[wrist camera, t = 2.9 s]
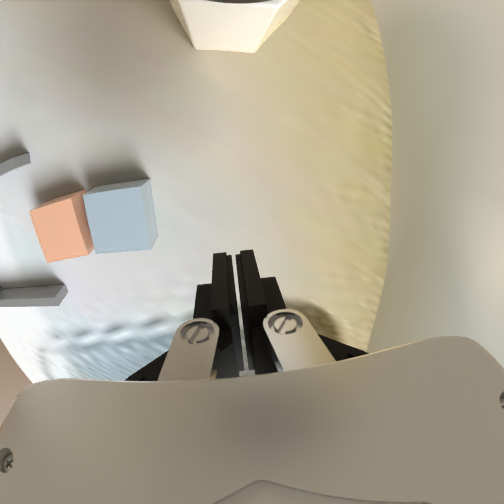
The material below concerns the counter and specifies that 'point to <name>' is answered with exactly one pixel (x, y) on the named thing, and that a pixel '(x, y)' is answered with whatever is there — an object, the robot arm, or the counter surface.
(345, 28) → the counter surface
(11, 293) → the tray
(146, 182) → the tile
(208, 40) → the jar
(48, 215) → the tile
